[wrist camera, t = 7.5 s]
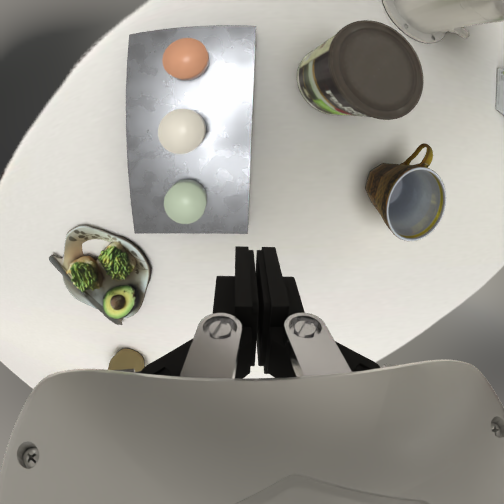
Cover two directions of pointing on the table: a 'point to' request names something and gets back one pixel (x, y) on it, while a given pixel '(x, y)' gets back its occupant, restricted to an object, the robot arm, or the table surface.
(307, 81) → the coffee can
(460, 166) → the table surface
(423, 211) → the ceramic cup
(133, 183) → the panel
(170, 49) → the brown egg
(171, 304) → the table surface
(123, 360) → the squeeze bottle
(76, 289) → the avocado toast plate
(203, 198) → the button sage
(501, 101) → the tea box
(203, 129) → the button cream
